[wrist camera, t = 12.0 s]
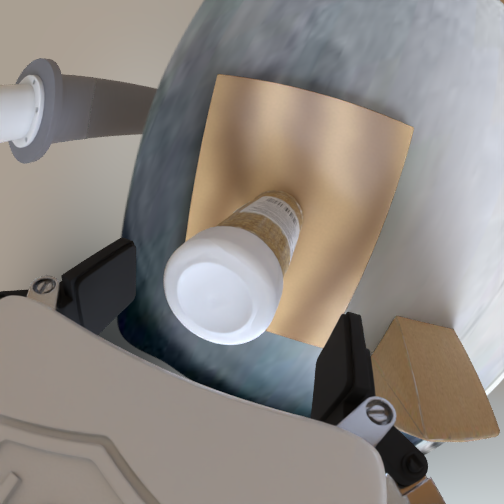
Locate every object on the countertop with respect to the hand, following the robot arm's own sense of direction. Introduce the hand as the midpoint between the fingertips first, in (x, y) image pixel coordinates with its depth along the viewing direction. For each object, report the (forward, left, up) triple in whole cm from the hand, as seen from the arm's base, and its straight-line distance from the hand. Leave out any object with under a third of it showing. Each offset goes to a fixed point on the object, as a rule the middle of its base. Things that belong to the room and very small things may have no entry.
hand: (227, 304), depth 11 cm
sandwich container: (+18, -13, -14) cm, 26 cm away
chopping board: (0, 0, -14) cm, 14 cm away
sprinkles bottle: (0, 0, -12) cm, 12 cm away
